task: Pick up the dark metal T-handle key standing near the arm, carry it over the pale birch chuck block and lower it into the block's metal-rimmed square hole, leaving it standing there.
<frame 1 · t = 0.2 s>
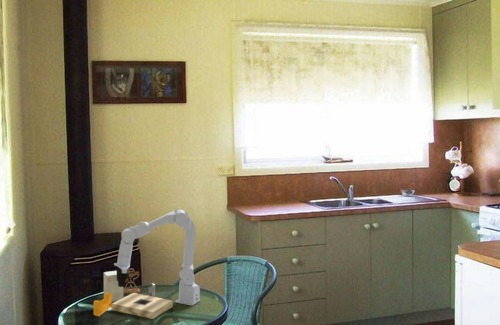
hand: (119, 283, 235), 10 cm above the table, tool pointing down, fingers open, 7 cm apart
brown openwork frame: (130, 292, 254), on the table
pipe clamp: (100, 311, 229), on the table
small box: (113, 299, 244), on the table
chuck block: (142, 308, 233), on the table
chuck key: (151, 298, 247), on the table
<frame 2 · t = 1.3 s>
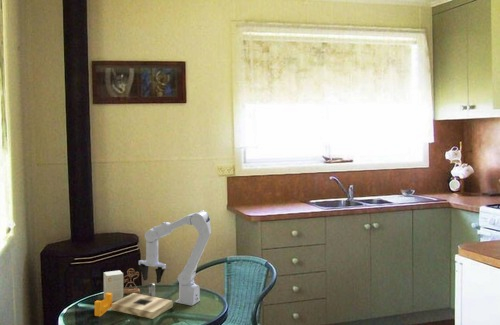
hand: (152, 281, 246), 8 cm above the table, tool pointing down, fingers open, 7 cm apart
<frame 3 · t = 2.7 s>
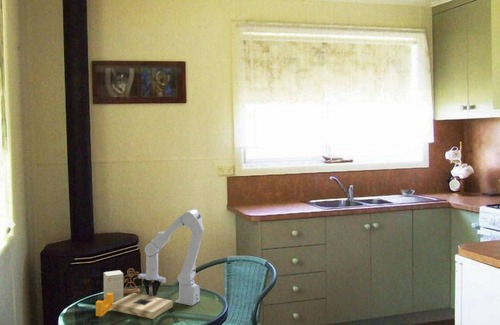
hand: (151, 294, 247), 2 cm above the table, tool pointing down, fingers closed on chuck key, 3 cm apart
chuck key: (151, 298, 247), on the table, touching gripper
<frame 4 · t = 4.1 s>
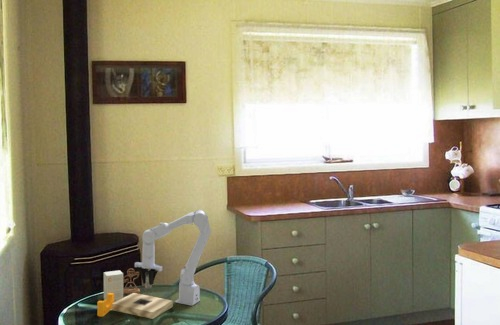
hand: (148, 283, 241), 9 cm above the table, tool pointing down, fingers closed on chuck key, 3 cm apart
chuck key: (148, 287, 241), point 7 cm above the table, touching gripper
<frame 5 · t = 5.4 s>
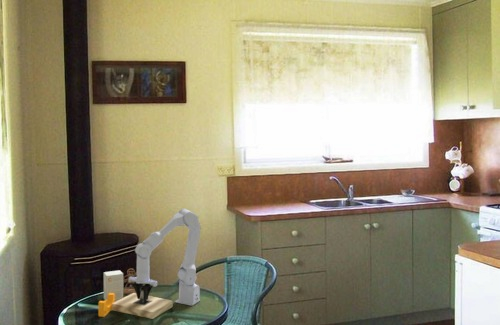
hand: (142, 299, 233), 4 cm above the table, tool pointing down, fingers closed on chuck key, 3 cm apart
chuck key: (142, 302, 233), point 3 cm above the table, touching gripper
when the fingers open (3 cm above the table, at t = 5.9 s): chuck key drops 2 cm, resting in chuck block.
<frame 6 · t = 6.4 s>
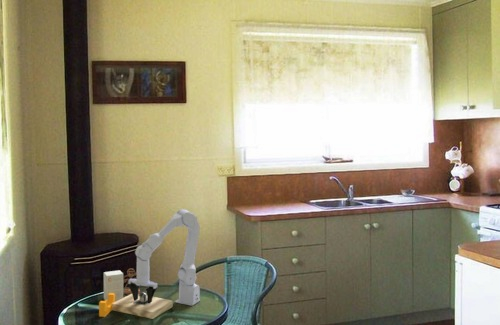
hand: (142, 301, 233), 3 cm above the table, tool pointing down, fingers open, 7 cm apart
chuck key: (142, 308, 234), resting in chuck block
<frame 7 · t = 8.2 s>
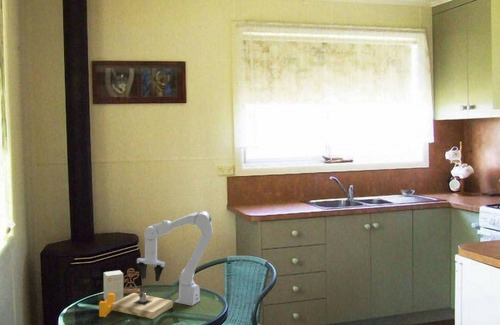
hand: (150, 279, 243), 10 cm above the table, tool pointing down, fingers open, 7 cm apart
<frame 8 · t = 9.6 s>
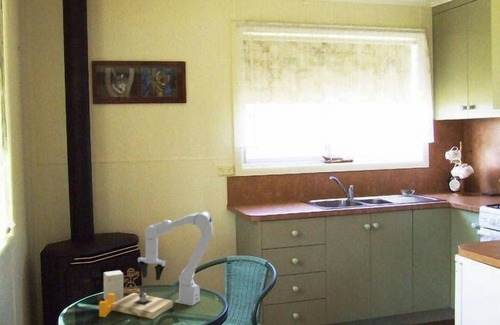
hand: (151, 278, 244), 10 cm above the table, tool pointing down, fingers open, 7 cm apart
at the end: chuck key 0.1 cm off-centre on the chuck block, point 0.0 cm above the chuck block's base; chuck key tilted 1°; the gripper is holding nothing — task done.
